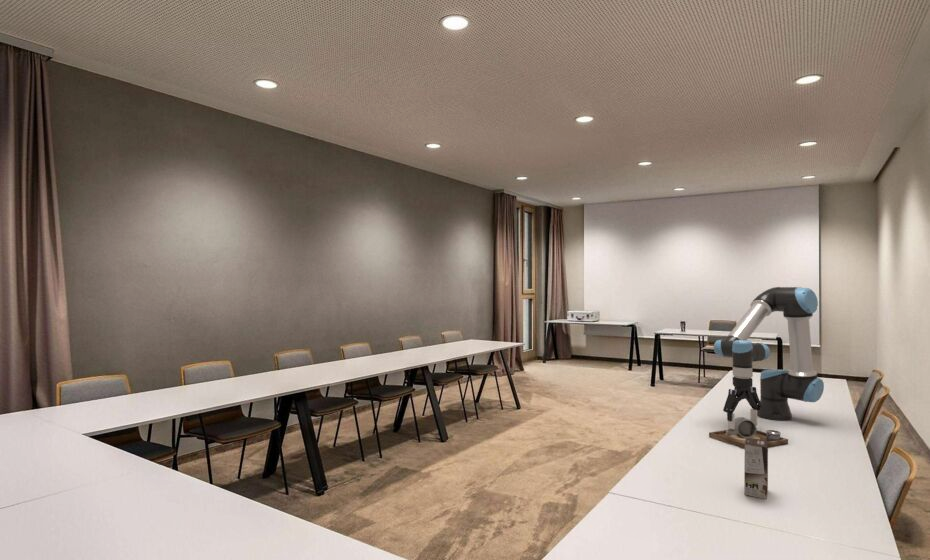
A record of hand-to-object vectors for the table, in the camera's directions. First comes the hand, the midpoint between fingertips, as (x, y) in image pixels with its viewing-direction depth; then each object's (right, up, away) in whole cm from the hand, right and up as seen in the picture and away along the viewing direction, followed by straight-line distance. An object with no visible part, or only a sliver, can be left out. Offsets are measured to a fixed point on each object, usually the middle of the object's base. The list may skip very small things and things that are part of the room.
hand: (742, 426), depth 224 cm
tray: (+1, -5, -2) cm, 6 cm away
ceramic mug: (-1, -4, 0) cm, 4 cm away
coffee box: (-25, -6, -56) cm, 62 cm away
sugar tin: (+10, -5, -6) cm, 12 cm away
